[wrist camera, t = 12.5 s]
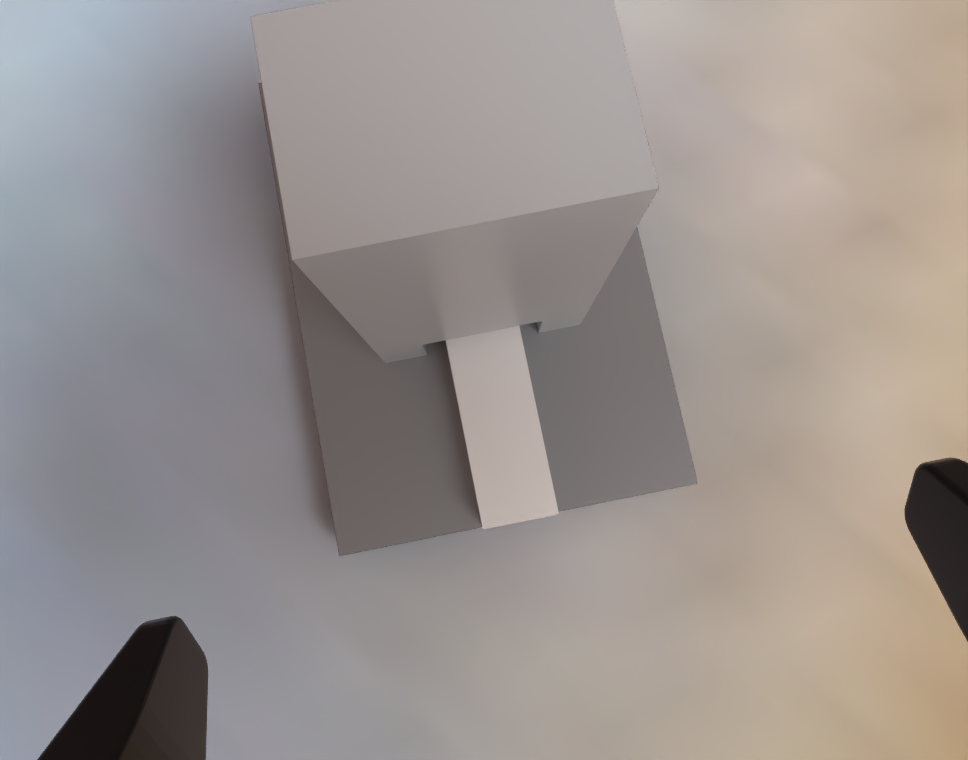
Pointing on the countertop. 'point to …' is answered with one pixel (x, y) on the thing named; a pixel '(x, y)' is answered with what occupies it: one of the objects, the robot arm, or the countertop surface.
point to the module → (454, 160)
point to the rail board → (492, 416)
